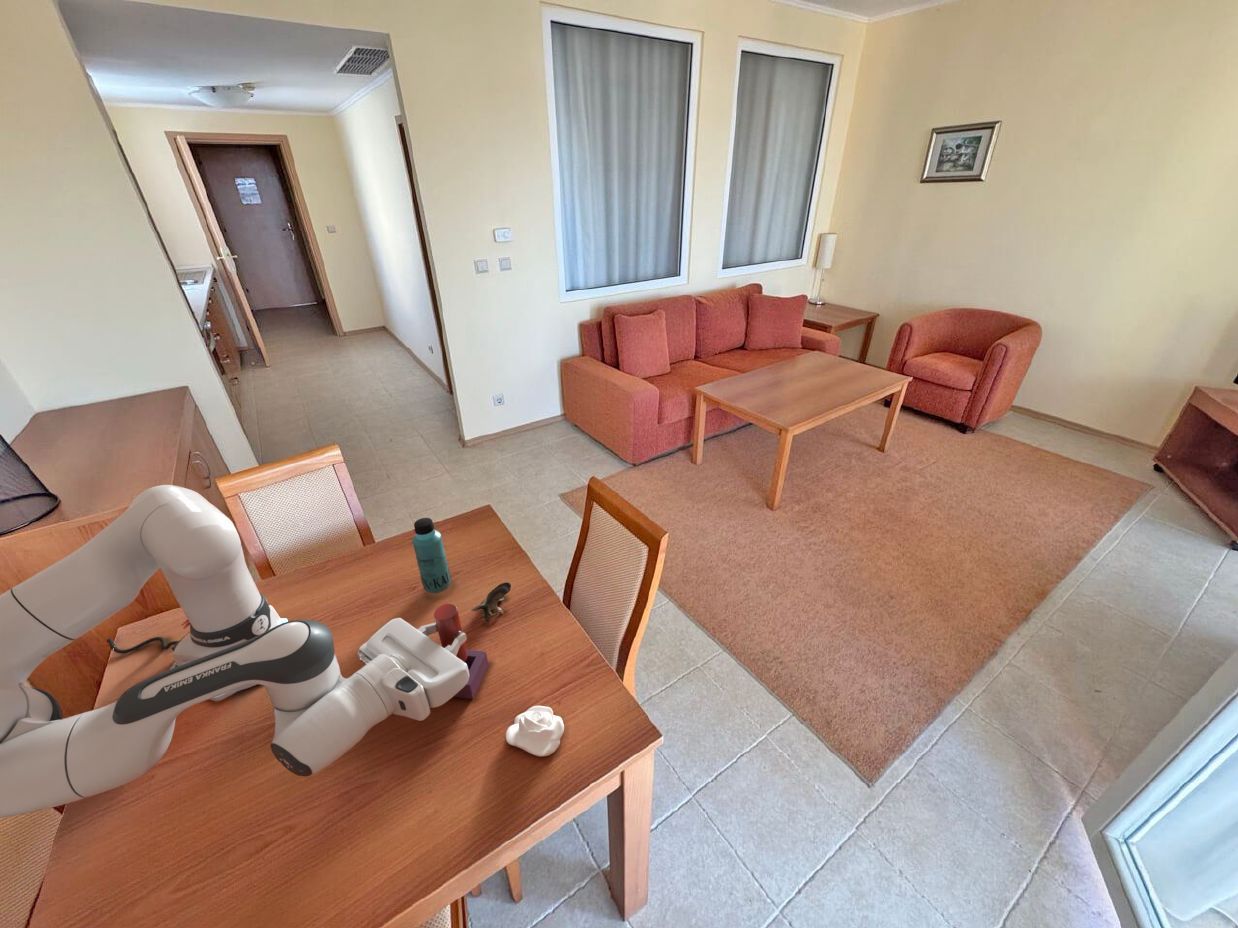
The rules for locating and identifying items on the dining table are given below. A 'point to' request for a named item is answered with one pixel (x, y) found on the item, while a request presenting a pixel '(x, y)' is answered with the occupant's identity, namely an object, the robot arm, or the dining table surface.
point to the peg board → (474, 673)
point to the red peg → (449, 627)
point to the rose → (536, 731)
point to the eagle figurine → (493, 601)
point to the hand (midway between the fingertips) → (454, 628)
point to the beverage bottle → (430, 556)
